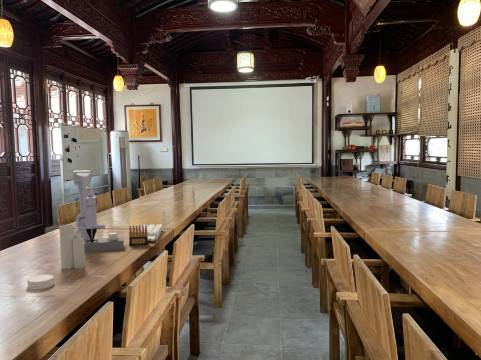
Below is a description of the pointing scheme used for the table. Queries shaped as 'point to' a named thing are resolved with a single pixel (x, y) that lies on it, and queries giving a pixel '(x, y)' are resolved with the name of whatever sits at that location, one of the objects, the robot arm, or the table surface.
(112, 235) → the peg right
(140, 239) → the ammunition clip
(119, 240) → the block
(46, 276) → the coaster
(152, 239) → the organizer
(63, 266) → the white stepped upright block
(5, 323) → the table surface
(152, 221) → the table surface
